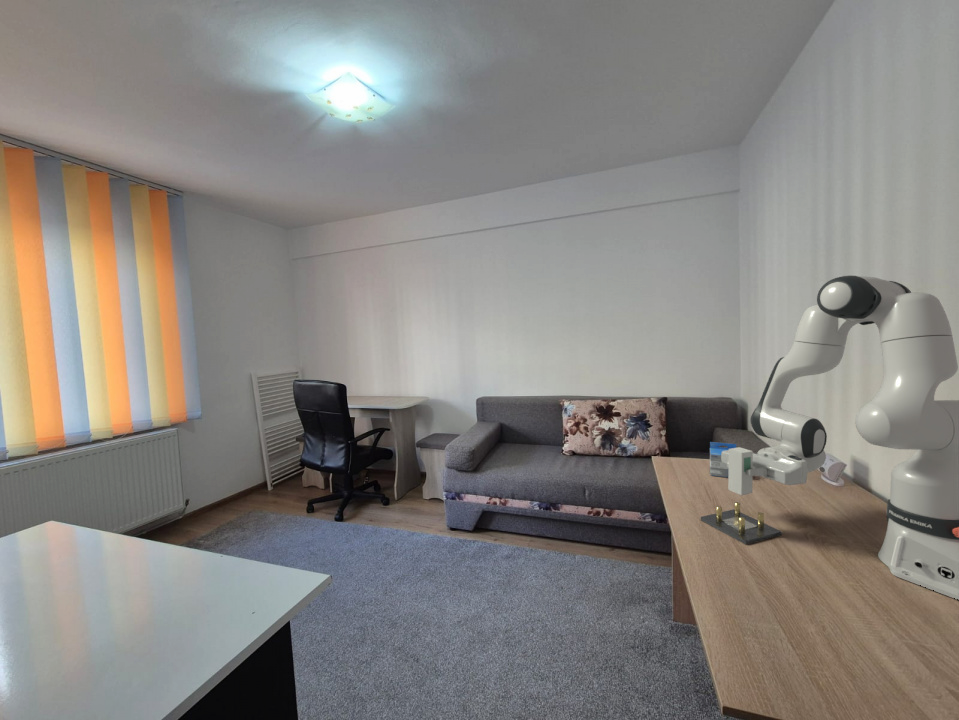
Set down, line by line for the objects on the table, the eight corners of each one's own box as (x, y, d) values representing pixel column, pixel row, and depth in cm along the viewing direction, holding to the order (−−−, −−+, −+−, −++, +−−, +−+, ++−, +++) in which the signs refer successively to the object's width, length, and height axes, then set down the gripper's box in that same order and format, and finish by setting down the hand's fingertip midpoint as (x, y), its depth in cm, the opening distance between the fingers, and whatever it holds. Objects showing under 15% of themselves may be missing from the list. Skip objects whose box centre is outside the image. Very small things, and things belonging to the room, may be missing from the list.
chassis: (781, 535, 104) (782, 517, 104) (745, 544, 100) (745, 526, 100) (734, 512, 118) (734, 496, 117) (700, 520, 114) (700, 503, 113)
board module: (752, 493, 107) (753, 451, 106) (741, 495, 106) (741, 453, 105) (738, 487, 111) (739, 447, 110) (728, 489, 110) (728, 448, 109)
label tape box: (710, 475, 146) (710, 444, 145) (709, 472, 150) (709, 441, 149) (737, 479, 142) (738, 446, 141) (736, 475, 146) (736, 443, 145)
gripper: (741, 442, 121) (706, 448, 118) (813, 462, 102) (774, 470, 98) (741, 462, 122) (706, 468, 118) (812, 485, 102) (774, 494, 98)
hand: (738, 469), depth 108 cm, fingers closed on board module, 4 cm apart
